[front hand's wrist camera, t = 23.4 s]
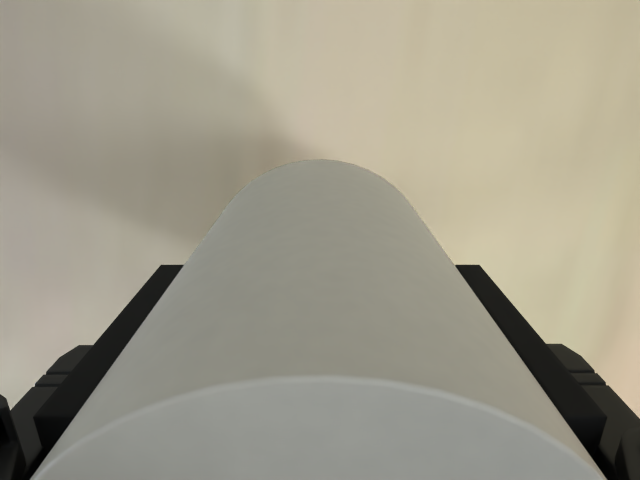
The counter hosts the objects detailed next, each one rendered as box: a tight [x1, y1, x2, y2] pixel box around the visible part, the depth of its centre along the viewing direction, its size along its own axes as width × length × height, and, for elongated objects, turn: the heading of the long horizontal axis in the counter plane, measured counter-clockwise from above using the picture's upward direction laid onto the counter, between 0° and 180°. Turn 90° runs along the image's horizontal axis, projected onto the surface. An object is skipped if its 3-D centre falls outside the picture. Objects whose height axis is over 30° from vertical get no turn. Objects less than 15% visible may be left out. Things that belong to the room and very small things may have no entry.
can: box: [30, 159, 607, 480], centre depth 11 cm, size 8×8×12 cm
